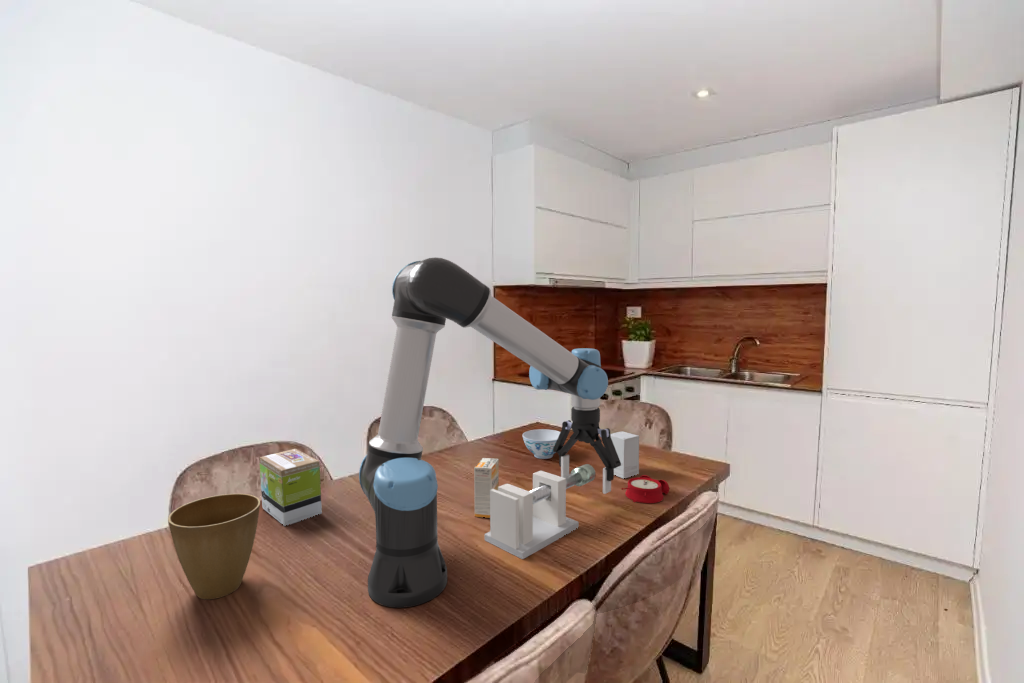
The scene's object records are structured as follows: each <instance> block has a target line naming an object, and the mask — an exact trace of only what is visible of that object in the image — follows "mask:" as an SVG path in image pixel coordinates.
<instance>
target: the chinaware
mask: <svg viewBox="0 0 1024 683" xmlns="http://www.w3.org/2000/svg"><path fill="white" fill-rule="evenodd" d="M560 432H561V431H559V430H555V429H545V428H541V429H537V428H536V429H530V430H527V431H525V432H523V433H522V439H523V442H524V444H525V447H526V449H527V450H529V452H530V453H532V454H533V456H534V457H535V458H537V459H539V460H544V459H545V460H547V459H551V458H553V456H554V455H555V454H556V453H557V452H554V451H553V448H554V446H555V444H556V441H557V439H558V437H559V434H560Z"/></svg>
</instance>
